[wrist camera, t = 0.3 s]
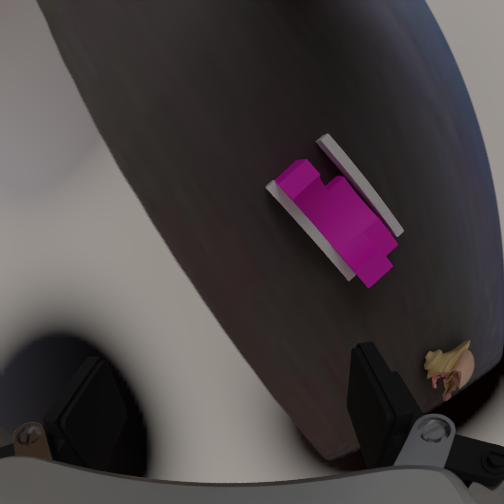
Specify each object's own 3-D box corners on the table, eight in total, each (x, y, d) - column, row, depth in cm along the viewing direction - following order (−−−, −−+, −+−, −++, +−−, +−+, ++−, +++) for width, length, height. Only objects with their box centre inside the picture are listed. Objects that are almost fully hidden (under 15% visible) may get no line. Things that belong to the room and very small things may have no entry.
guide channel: (322, 135, 36) (327, 133, 33) (394, 226, 39) (404, 230, 36) (265, 186, 38) (266, 188, 35) (342, 273, 41) (348, 281, 38)
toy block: (384, 236, 39) (409, 251, 32) (349, 267, 41) (368, 288, 33) (311, 146, 37) (325, 142, 29) (273, 180, 38) (278, 184, 30)
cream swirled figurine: (404, 373, 46) (431, 362, 38) (434, 332, 49) (461, 313, 41) (438, 405, 43) (468, 398, 34) (465, 362, 46) (495, 348, 37)
